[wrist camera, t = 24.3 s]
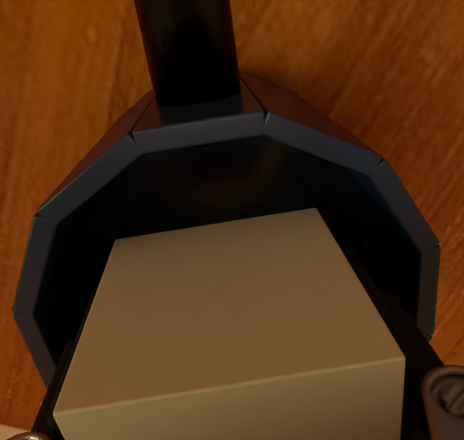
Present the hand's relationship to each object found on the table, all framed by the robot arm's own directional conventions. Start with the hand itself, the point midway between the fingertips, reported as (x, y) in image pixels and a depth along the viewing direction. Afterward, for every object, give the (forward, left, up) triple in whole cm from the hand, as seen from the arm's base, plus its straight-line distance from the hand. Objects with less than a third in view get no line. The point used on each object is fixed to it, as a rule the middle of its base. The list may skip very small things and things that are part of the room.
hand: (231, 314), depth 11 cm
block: (0, 0, 0) cm, 0 cm away
